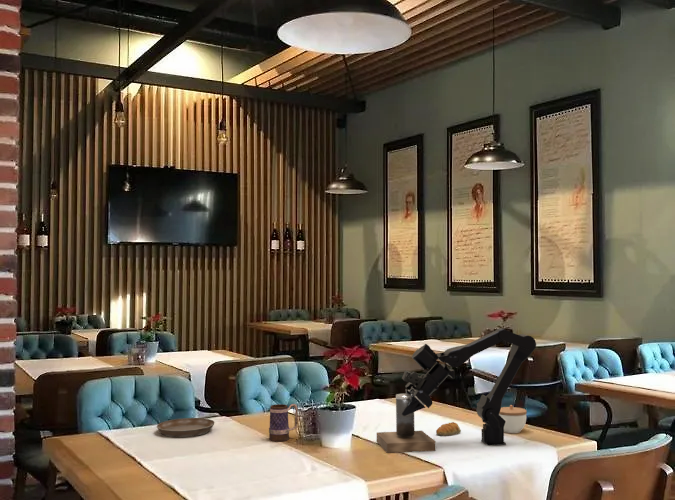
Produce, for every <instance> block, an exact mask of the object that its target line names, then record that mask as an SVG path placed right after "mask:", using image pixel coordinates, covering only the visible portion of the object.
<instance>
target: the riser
mask: <svg viewBox="0 0 675 500" xmlns="http://www.w3.org/2000/svg"><path fill="white" fill-rule="evenodd" d="M376 443H378V445H379V446H380V447H381V448H382V449H383V450H384V451H385V452H386V453H387V454H395V453H396V454H397V453H413V452H412V451H419V452H433V451H434V452H435V451H436V440H435V439H433V438H432V437H431V436H429V435H428V434H427V433H426V432H424V431H423V430H415V435H413V436H398V435H397V434H396V431H384V432H382V431H381V432H379V431H378V432H376Z"/></svg>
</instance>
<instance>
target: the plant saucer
mask: <svg viewBox="0 0 675 500" xmlns="http://www.w3.org/2000/svg"><path fill="white" fill-rule="evenodd" d="M215 423H216V422H215V420H212V419H210V418H204V417H203V418H202V417H186V418H185V417H184V418H175V419H170V420H165V421H162V422H160V423H158V424H157V425H156V428H157V430H158V431H159V432H160V434H162V435H163V436H166V437H171V438H191V437H196V436H202V435H205V434H207V433H208V432H210V430H212V428H213V426H215Z"/></svg>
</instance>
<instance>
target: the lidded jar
mask: <svg viewBox="0 0 675 500" xmlns="http://www.w3.org/2000/svg"><path fill="white" fill-rule="evenodd" d="M499 415H500V416H501V417H502V418H503V419H504V420H505V421H506V422H505V425H504V433H507V434H520V433H521V431H522V430H523V429H524V428H525V426H526V422H527V409H525V408H522V407H514V406H513V405H512V404H510V405H509V406H503V407H502V406H501V410H500V413H499Z"/></svg>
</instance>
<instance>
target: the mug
mask: <svg viewBox="0 0 675 500" xmlns="http://www.w3.org/2000/svg"><path fill="white" fill-rule="evenodd" d="M291 408H294V412H295V413H294V426H293V427H290V426H289V411H290V410H292V409H291ZM298 409H299V408H298V406H297V404H295V403H292V404H290V405H289V406H288V405H287V404H285V403H284V404H282V403H279V404H278V403H277V404H271V405H270V407H269V428H268V433H269V437H268V438H269V440H270V441H271V442H278V443H280V442H286V441H289V439H290V431H293V430H296V429H297V427H298V412H299V411H298Z"/></svg>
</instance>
